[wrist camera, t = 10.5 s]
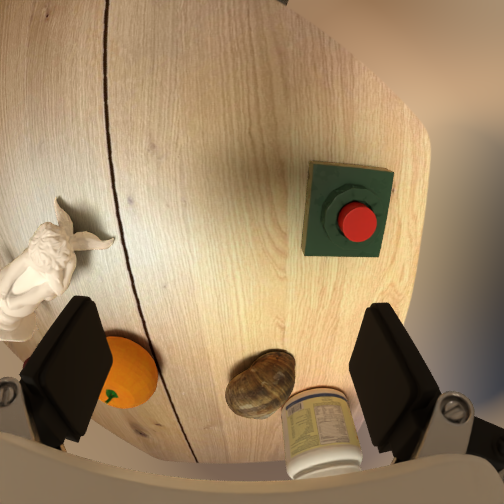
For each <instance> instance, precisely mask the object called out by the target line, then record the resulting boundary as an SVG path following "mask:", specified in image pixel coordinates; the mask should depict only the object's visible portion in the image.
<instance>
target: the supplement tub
mask: <svg viewBox="0 0 504 504" xmlns="http://www.w3.org/2000/svg"><path fill="white" fill-rule="evenodd" d="M281 418H282V428H283V439H284V449H285V459H286V470H287V473H288V475H289V476H290V477H291V478H292V479H293V480H298V479H309V478H318V477H326V476H334V475H340V474H346V473H352V472H358V471H361V467H359V465H360V464H361V461H362V457H363V456H362V451H361V447H360V443H359V440H358V436H357V432H356V429H355V425H354V422H353V418H352V415H351V411H350V407H349V404H348V400H347V398H346V397H345V395H344V394H343V393H341V392H340V391H337V390H335V389H330V388H316V389H310V390H307V391H303V392H301V393H298V394H296V395H294V396H293V397H291V398H290V399H289V400H288V401H287V402H286V403H285V405H284V406H283V408H282V413H281Z"/></svg>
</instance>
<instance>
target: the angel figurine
mask: <svg viewBox="0 0 504 504" xmlns="http://www.w3.org/2000/svg"><path fill="white" fill-rule="evenodd" d="M54 207H55V213H56V216H57V220H58V224H59V226H57V225H54V224H52V223H51V222H45V223H44V224H41V225H40V226H39V228H38V229H37V231H36V232H35V233H34V235H33V237H32V238H30V240H29V246H28V248H27V249H25V250H24V251H23V253H22V254H21V255H20V256H18V257H17V258H16V259H14V260H13V261H12V263H10V264H8V265H6V266H5V267H4V268H3V269H2V270H1V271H0V340H1V341H2V340H3V341H17V342H24V341H26V340H29V339H31V337H32V334H33V332H34V330H39V329H38V328H37V326H36V325H37V319H36V313H35V310H36V309H37V307H38V306H39V304H40V302H41V301H43V300H46V301H51V300H53V299H54V298H55V297H56V296H57V295H58V296H60V295H62V294H63V293H64V292H65V291H66V290H67V288H68V287H69V284H70V281H71V277H72V274H73V271H74V270H75V268H76V255H75V253H74V251H75V250H77V251H80V250H81V251H84V250H89V249H90V250H93V249H95V250H98V249H99V250H102V249H108V248H109V247H110V246H111V245H112V244H113V241H114V238H112V239H110V240H106V241H101V240H100V239H99V238H98V237H97V236H95V235H94V234H92V233H89V232H87V231H83V232H77V233H75V234H73V222H72V221H71V219H70V217H69V215H68V214H67V213H66V212H64V210H63V209H61V208H60V207H59V205H58V203H57V197H56V198H55V200H54Z"/></svg>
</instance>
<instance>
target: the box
mask: <svg viewBox="0 0 504 504" xmlns="http://www.w3.org/2000/svg"><path fill="white" fill-rule="evenodd" d="M393 177H394V172H392V171H390V170H388V169H386V168H379V167H371V166H362V165H353V164H344V163H333V162H321V161H309V168H308V180H307V192H306V203H305V214H304V224H303V234H302V243H301V248H302V251H303V254H304V256H337V257H379V253H380V249H381V244H382V239H383V234H384V230H385V224H386V219H387V214H388V208H389V202H390V196H391V190H392V184H393ZM352 202H360V203H363V204H364V205H366V206H367V207H368V208H369V209H370V210H371V211H373V213H374V214H375V216H376V219H377V226H376V229H375V231H374V233H373V234H372V236H371V237H370V238H368V239H367V240H365V241H362V242H354V241H351V240H349V239H348V238H347V237H346V236H345V235H344V233H343V232H342V231H341V229H340V227H339V225H338V216H339V213H340V211H341V210H342V208H343V207H344V206H346V205H347V204H349V203H352Z"/></svg>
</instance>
